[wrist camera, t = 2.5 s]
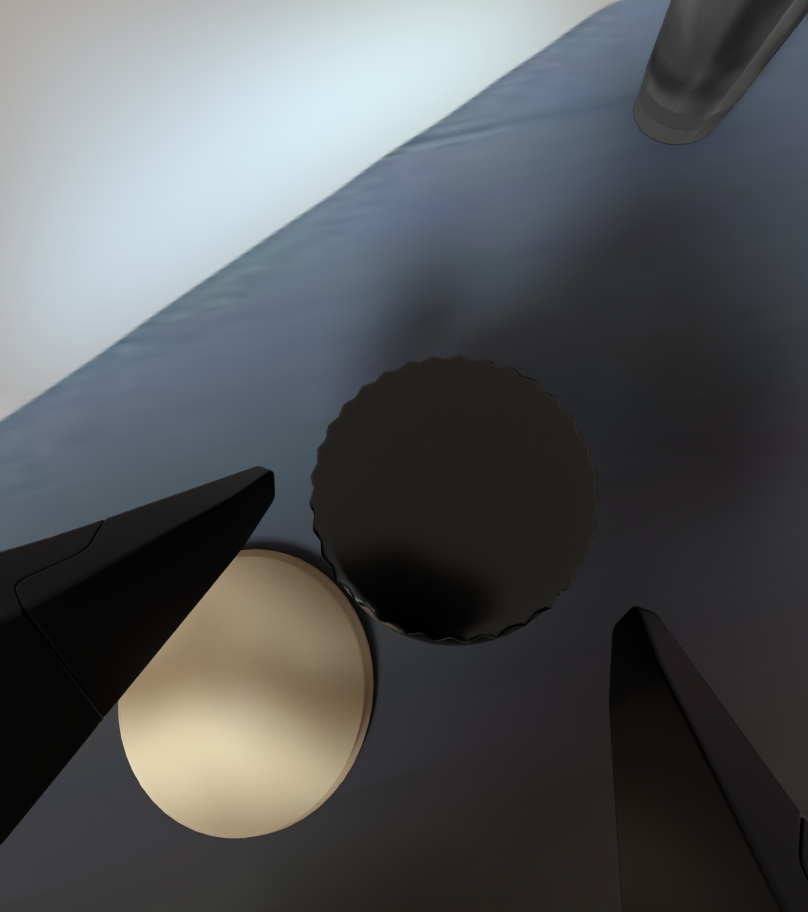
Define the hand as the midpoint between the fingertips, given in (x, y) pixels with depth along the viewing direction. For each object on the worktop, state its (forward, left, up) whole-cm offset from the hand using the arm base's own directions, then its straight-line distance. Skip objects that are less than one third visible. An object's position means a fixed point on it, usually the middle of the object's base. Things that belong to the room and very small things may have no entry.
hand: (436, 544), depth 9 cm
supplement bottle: (+1, -1, -9) cm, 9 cm away
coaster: (-5, +9, -9) cm, 14 cm away
